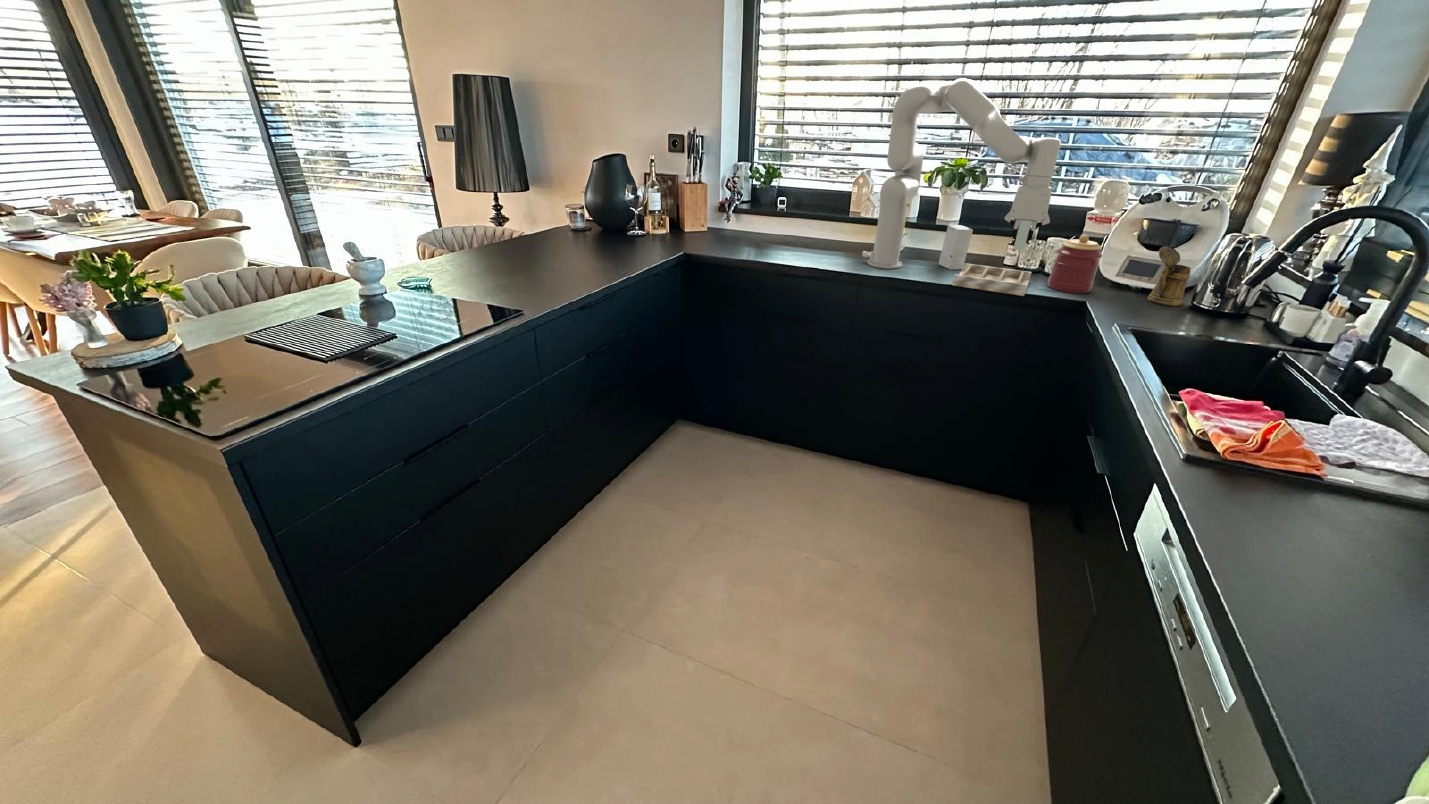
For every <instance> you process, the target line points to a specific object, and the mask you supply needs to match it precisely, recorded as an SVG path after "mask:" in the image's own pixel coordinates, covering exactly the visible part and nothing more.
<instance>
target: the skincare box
mask: <svg viewBox="0 0 1429 804" xmlns="http://www.w3.org/2000/svg"><path fill="white" fill-rule="evenodd" d="M973 231H974V230H973V229H972V228H970V227H967V226H964V225H961V224H947V229H946V233H945V237H944V240H943V244H942V248H941V252H940V256H939V261H938V265H939V266H941V267H944V268H946V269H947V268H948V270H962V268H963V264H964V263H965V262H966V258H967V254H968V250H969V246H970V242H971V238H972V236H973V235H972V234H973Z"/></svg>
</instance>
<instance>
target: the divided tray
mask: <svg viewBox="0 0 1429 804" xmlns="http://www.w3.org/2000/svg"><path fill="white" fill-rule="evenodd" d="M1031 276H1032V271H1026V270H1025V271H1024V270H1018V269H1012V268H1004V267H996V266H988V265H982V264H975V263H974V264H972V263H965V262H964V264H963V268H962V269H961V271H960V272H959V273H958V274H955V273H954V274H953V277H952V282H951V286H954V287H960V288H961V287H962V288H967V289H968V288H969V289H976V290H982V291H989V292H995V293H1000V294H1001V293H1002V294H1008V295H1015V296H1020V297H1021V296H1022V297H1024V296H1025V294H1026V292H1027V289H1028V286H1029V283H1030V280H1031Z"/></svg>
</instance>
